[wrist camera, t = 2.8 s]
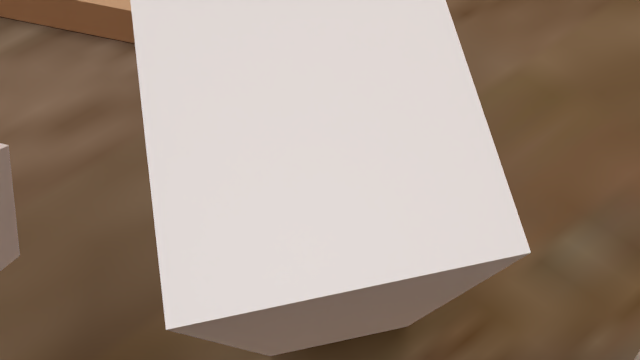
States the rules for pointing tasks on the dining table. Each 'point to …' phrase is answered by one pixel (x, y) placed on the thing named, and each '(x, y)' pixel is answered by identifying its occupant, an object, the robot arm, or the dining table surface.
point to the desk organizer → (76, 16)
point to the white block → (315, 168)
